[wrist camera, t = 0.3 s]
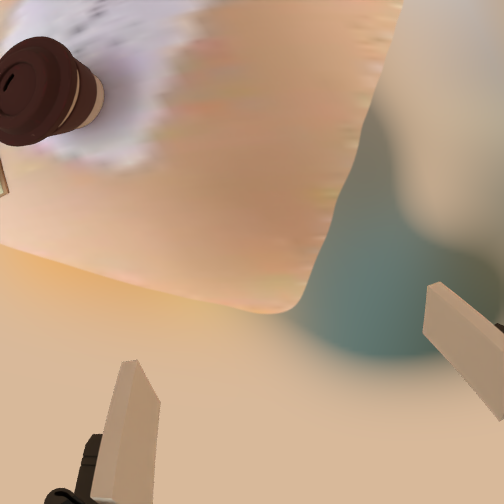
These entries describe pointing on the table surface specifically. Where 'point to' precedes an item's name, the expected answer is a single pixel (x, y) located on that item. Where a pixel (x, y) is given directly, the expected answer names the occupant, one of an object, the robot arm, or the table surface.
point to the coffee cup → (45, 92)
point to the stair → (3, 182)
